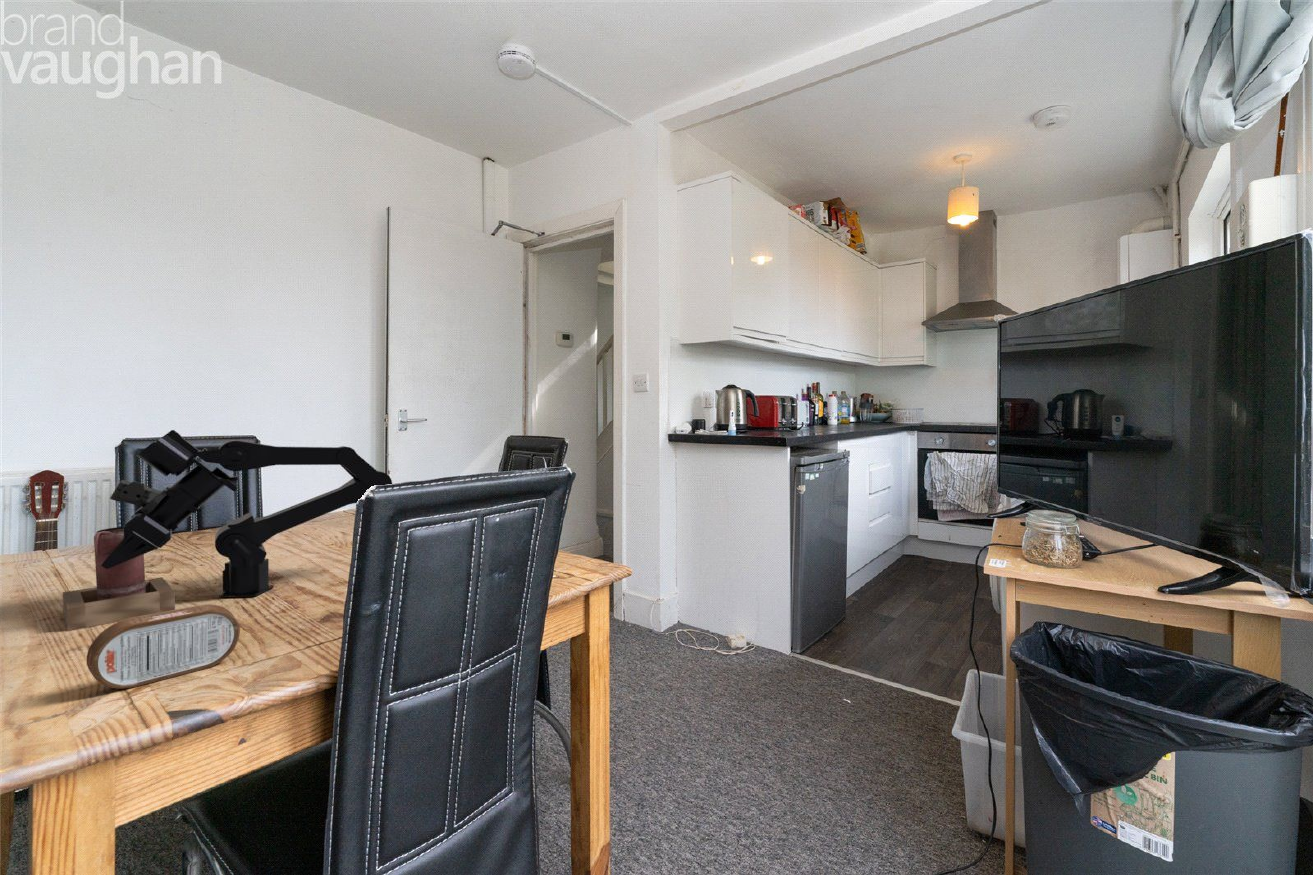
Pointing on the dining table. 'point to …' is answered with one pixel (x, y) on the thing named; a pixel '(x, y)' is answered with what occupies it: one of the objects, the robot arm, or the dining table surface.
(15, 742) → the dining table surface
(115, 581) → the can
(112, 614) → the collar
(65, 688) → the dining table surface
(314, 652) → the dining table surface
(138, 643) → the tin
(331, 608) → the dining table surface
